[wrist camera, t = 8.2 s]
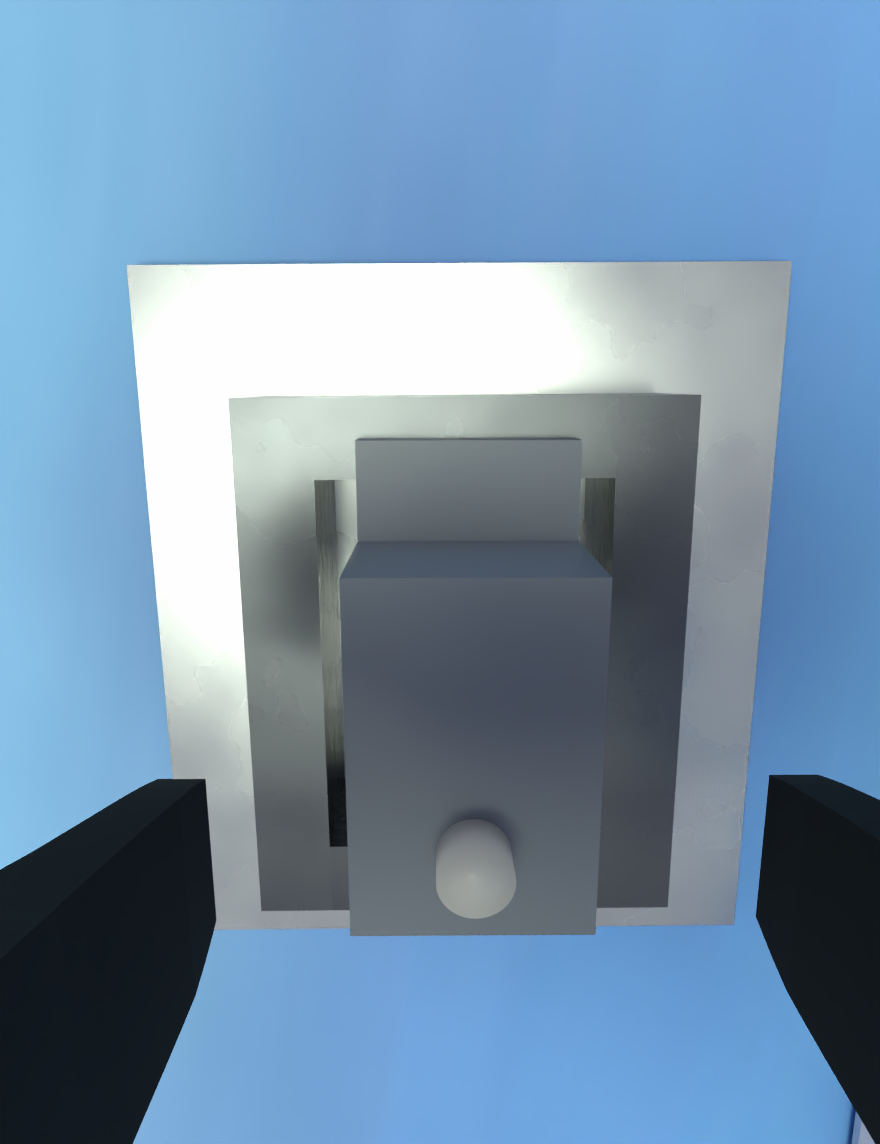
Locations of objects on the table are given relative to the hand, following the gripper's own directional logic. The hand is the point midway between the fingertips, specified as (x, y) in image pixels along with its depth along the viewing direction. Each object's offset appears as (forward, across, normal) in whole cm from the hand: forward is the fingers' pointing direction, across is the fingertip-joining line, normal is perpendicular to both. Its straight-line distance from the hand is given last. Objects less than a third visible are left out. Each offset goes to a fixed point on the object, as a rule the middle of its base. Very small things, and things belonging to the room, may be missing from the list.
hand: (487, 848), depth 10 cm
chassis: (+9, 0, 0) cm, 9 cm away
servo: (+9, 0, 0) cm, 9 cm away
